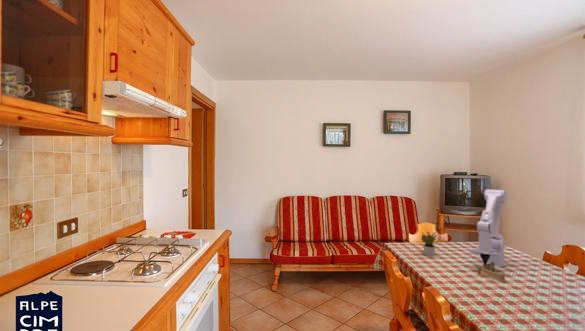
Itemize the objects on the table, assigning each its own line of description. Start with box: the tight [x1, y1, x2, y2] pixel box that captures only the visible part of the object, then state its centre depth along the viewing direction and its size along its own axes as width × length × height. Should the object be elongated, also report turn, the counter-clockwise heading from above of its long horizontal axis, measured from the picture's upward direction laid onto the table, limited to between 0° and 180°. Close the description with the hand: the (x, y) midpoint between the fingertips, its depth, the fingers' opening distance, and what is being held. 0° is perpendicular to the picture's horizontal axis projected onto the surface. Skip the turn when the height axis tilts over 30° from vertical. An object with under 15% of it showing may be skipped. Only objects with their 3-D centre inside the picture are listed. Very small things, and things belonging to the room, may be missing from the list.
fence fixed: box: [477, 265, 506, 284], centre depth 140 cm, size 2×13×4 cm, turn 23°
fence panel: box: [480, 262, 495, 272], centre depth 148 cm, size 11×2×4 cm, turn 114°
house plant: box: [420, 230, 443, 258], centre depth 177 cm, size 14×14×16 cm
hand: (485, 267), depth 150 cm, fingers closed, pressing on fence panel
